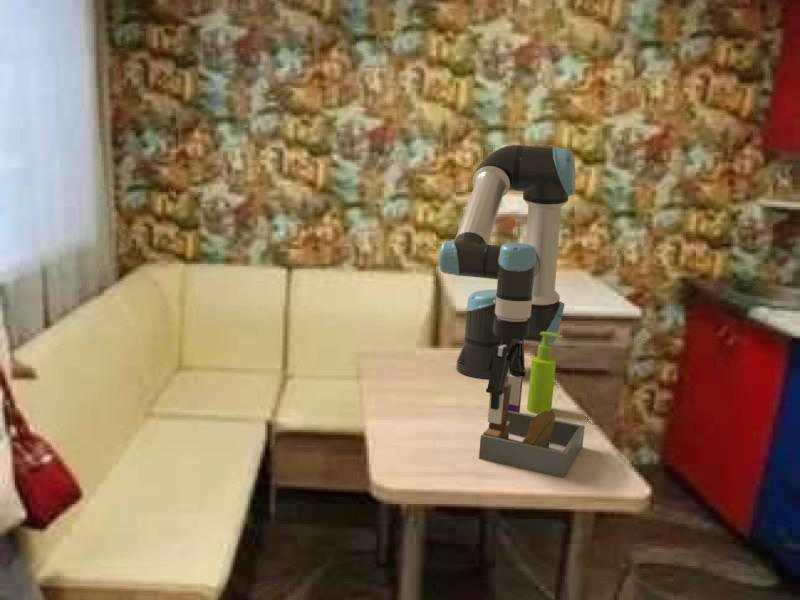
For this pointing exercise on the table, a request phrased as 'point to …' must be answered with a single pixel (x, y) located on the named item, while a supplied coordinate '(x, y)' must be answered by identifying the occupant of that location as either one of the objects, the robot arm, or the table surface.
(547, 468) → the box
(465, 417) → the table surface
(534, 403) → the soap dispenser
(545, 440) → the rock
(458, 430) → the table surface
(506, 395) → the brown t-shaped block
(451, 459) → the table surface
